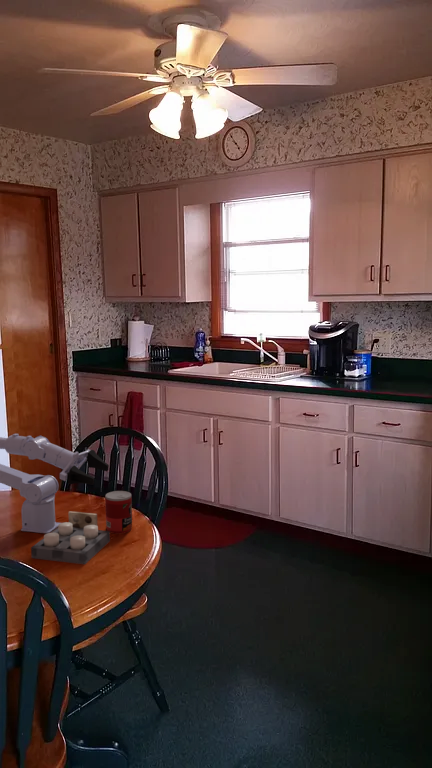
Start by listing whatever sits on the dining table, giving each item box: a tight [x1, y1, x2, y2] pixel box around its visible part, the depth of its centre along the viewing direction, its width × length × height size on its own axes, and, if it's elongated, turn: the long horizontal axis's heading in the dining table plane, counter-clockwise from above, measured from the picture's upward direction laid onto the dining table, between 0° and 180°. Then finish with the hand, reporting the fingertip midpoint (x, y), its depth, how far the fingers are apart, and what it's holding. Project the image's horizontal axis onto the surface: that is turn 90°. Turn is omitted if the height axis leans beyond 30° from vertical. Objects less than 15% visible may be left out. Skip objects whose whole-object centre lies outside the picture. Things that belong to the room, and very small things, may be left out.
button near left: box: [43, 532, 59, 547], centre depth 170 cm, size 4×4×3 cm
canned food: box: [104, 490, 133, 535], centre depth 187 cm, size 8×8×11 cm
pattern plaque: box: [68, 510, 99, 528], centre depth 184 cm, size 9×1×6 cm, turn 75°
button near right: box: [70, 535, 85, 550], centre depth 168 cm, size 4×4×3 cm
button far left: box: [57, 521, 73, 536], centre depth 178 cm, size 4×4×3 cm
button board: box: [30, 527, 111, 565], centre depth 173 cm, size 16×16×3 cm
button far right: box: [84, 524, 99, 539], centre depth 176 cm, size 4×4×3 cm
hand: (100, 474), depth 179 cm, fingers open, 7 cm apart
